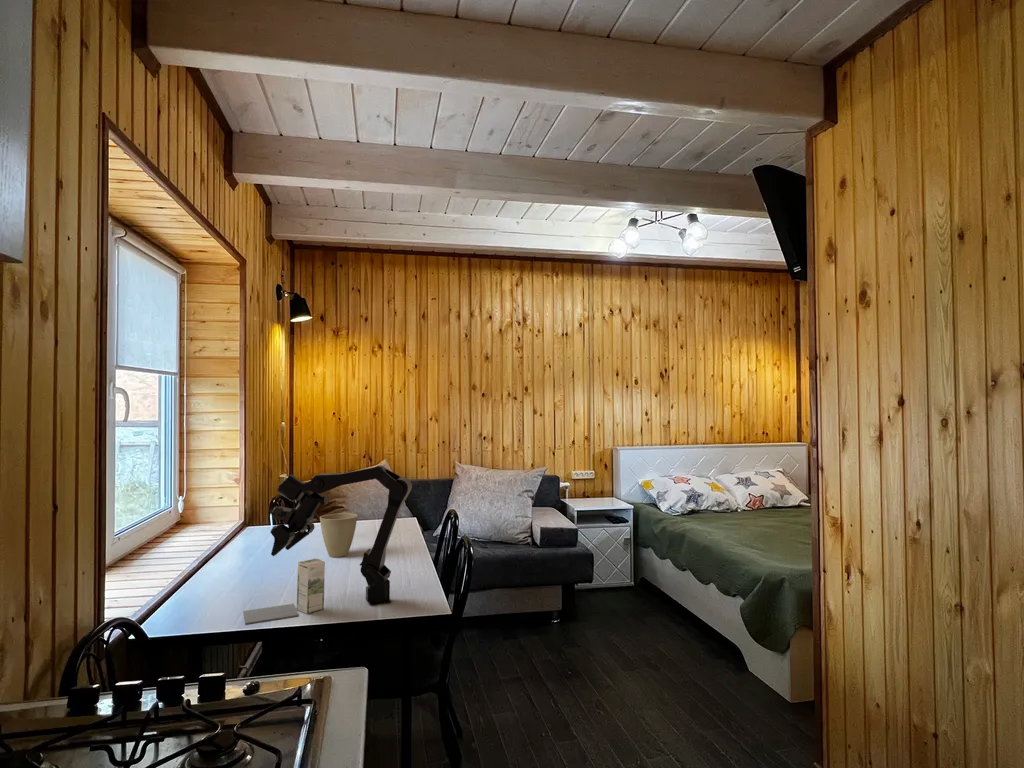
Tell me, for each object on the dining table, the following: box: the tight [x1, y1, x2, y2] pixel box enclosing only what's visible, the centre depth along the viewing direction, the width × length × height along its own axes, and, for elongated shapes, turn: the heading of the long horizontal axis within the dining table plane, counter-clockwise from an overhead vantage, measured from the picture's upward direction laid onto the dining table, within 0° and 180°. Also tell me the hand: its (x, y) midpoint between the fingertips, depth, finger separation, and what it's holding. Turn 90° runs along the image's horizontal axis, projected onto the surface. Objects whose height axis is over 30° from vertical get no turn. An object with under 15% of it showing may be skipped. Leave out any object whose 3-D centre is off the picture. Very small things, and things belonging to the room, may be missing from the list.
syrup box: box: [296, 558, 326, 615], centre depth 175 cm, size 6×6×14 cm
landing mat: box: [243, 603, 299, 625], centre depth 171 cm, size 14×11×1 cm
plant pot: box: [319, 512, 358, 558], centre depth 240 cm, size 15×15×16 cm
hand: (279, 552), depth 183 cm, fingers open, 9 cm apart
